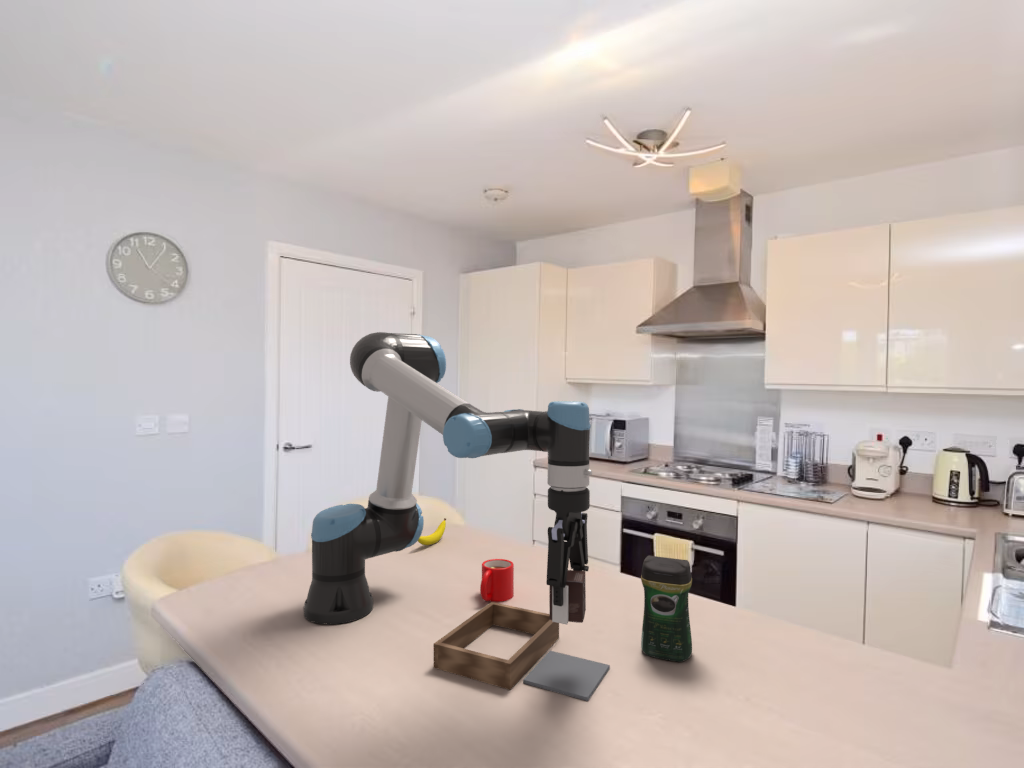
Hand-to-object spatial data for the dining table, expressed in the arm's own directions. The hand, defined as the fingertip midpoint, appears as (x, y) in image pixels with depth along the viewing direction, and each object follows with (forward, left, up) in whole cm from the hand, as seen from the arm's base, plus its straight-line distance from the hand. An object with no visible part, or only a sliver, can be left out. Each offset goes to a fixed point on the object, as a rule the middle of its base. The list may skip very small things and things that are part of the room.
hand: (568, 613), depth 102 cm
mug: (-29, +25, -11) cm, 40 cm away
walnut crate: (-15, +2, -11) cm, 19 cm away
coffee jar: (+14, +17, -11) cm, 25 cm away
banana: (-68, +54, -11) cm, 88 cm away
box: (0, 0, -1) cm, 1 cm away
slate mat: (0, 0, -11) cm, 11 cm away
